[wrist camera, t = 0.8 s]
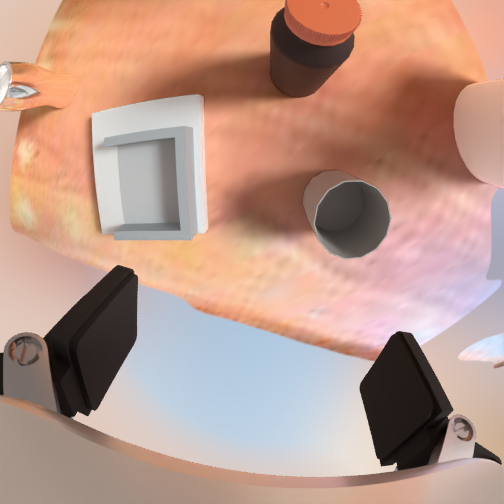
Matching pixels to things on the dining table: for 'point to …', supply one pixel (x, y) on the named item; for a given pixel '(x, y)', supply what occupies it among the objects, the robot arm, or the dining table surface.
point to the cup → (346, 214)
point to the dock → (151, 169)
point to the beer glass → (33, 87)
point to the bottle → (311, 43)
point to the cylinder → (481, 130)
